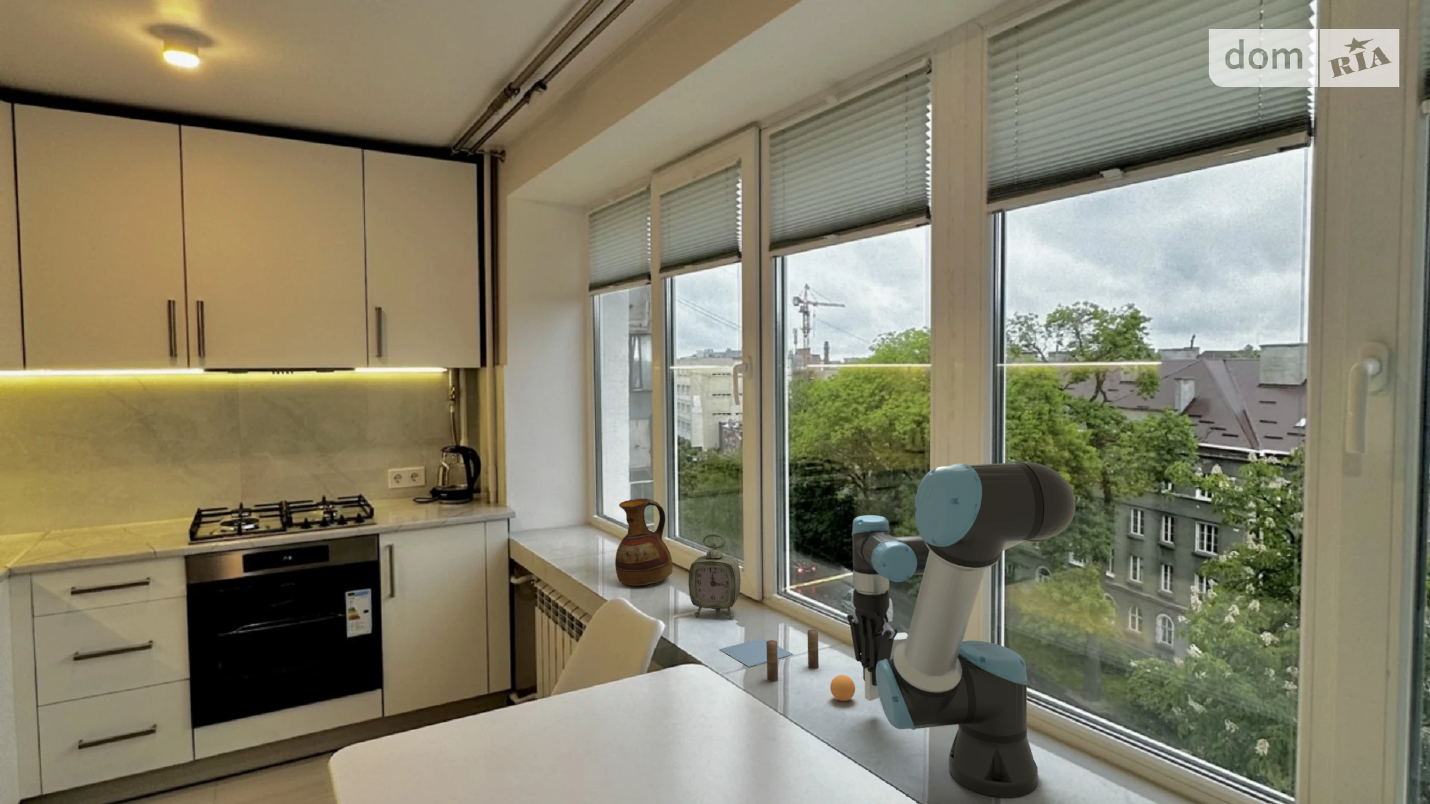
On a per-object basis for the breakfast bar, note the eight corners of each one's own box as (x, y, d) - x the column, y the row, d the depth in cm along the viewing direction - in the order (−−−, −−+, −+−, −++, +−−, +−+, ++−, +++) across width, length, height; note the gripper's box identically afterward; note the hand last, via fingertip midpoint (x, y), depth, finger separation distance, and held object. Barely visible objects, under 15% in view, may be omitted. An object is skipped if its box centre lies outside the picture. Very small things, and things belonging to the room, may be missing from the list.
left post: (780, 679, 176) (779, 642, 176) (771, 682, 175) (770, 645, 174) (773, 675, 178) (773, 639, 178) (765, 678, 177) (764, 641, 176)
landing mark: (793, 654, 191) (793, 654, 191) (749, 667, 184) (749, 666, 184) (762, 638, 203) (762, 638, 203) (719, 649, 196) (719, 649, 196)
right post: (820, 667, 183) (820, 631, 182) (812, 669, 181) (812, 633, 181) (814, 663, 185) (813, 628, 184) (806, 666, 183) (805, 630, 183)
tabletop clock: (689, 618, 221) (687, 536, 220) (697, 609, 229) (695, 530, 228) (736, 621, 217) (734, 538, 216) (742, 611, 226) (740, 531, 225)
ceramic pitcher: (609, 579, 265) (606, 497, 264) (661, 571, 274) (659, 491, 272) (626, 593, 247) (623, 505, 246) (681, 585, 256) (679, 499, 255)
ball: (860, 701, 164) (860, 677, 163) (841, 707, 161) (841, 683, 160) (843, 692, 168) (843, 668, 168) (825, 698, 165) (825, 674, 165)
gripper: (906, 594, 152) (907, 705, 153) (862, 578, 163) (863, 682, 164) (880, 601, 148) (881, 715, 149) (837, 584, 159) (838, 691, 160)
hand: (872, 697), depth 157 cm, fingers closed
